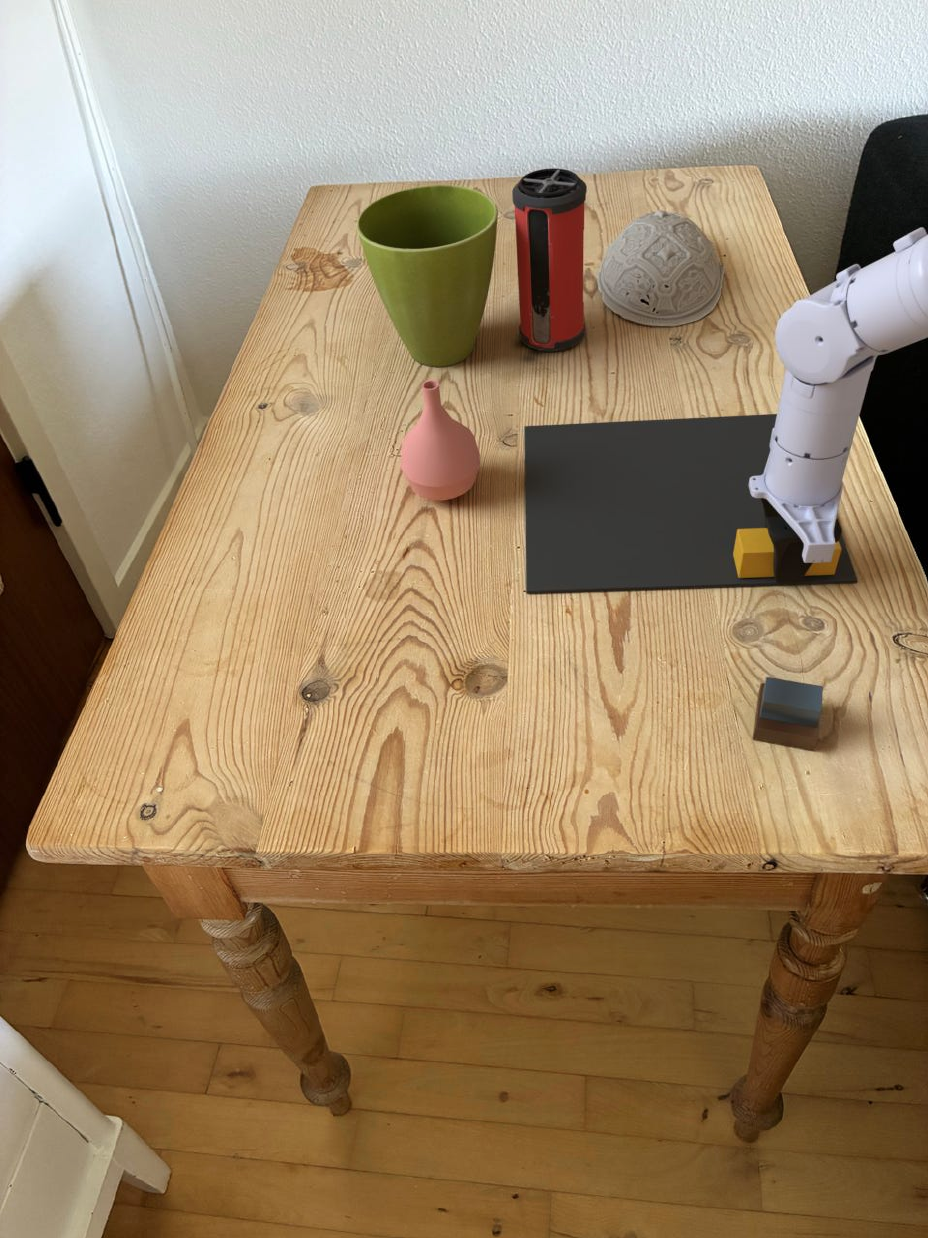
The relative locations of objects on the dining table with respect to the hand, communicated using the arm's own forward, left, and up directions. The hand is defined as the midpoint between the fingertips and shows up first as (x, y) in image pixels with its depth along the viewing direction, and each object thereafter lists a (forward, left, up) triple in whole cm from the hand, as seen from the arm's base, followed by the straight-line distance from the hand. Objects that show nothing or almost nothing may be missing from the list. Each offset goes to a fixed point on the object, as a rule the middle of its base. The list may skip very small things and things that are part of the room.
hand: (783, 565), depth 81 cm
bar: (0, 0, 0) cm, 0 cm away
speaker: (+29, -34, -1) cm, 44 cm away
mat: (+11, -8, 0) cm, 13 cm away
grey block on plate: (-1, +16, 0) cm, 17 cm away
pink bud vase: (+33, -5, -1) cm, 33 cm away
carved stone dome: (+19, -50, -1) cm, 53 cm away
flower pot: (+41, -29, -1) cm, 50 cm away
